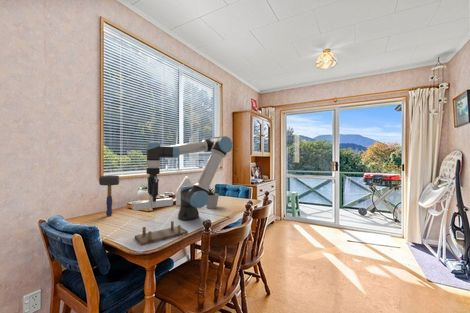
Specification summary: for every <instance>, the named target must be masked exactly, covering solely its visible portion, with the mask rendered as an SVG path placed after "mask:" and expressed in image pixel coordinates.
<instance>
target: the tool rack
mask: <svg viewBox="0 0 470 313" xmlns="http://www.w3.org/2000/svg"><path fill="white" fill-rule="evenodd" d="M187 233H188V234H189V231H188V230H187V229H186V228H183V227H182V226H181V225H180V224H178V225H177V226H175V224H174V220H173V221H170V227H169V228H164V229H159V230H155V231H150V230H149V231H148V232H147V231H146V226H142V233H141V234H137V235H134V239H135V240H136V241H137V242H138V243H139V244H140V246H144V245H149V244H152V243H157V242H160V240H161V241H164V240H168V239H172V237H173V238H177V237H181V236H184V235H183V234H185V235H188V234H187ZM180 235H181V236H180ZM176 236H177V237H176Z"/></svg>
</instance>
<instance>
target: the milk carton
mask: <svg viewBox="0 0 470 313" xmlns="http://www.w3.org/2000/svg"><path fill="white" fill-rule="evenodd" d="M185 186H194V184H193V183H192V180H191V179H190V177H189V176H187V175H185V176H184V178H183V179H182V181H181V183H180V184H179V186H177V188H176V190H175V191H176V192H175V206H177V207H178V206H181V192H180V191H181V187H185Z"/></svg>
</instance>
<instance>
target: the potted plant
mask: <svg viewBox="0 0 470 313" xmlns="http://www.w3.org/2000/svg"><path fill="white" fill-rule="evenodd" d="M208 189H209V193H208V197H209V200H208V203H207V204H206V205H205V208H207V209H210V210H211V209H213V210H214V209H216V208H217V207H218V201H219V196H220V194H219V193H218V192H217V191H218V190H217V189H215V187H211V185H210V186H209V188H208Z"/></svg>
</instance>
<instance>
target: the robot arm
mask: <svg viewBox="0 0 470 313" xmlns="http://www.w3.org/2000/svg"><path fill="white" fill-rule="evenodd" d="M233 144H234V143H233V141H232V139H231V138H230V137H228V136H225V135H221V136H214V137H211V138H207V139H203V140H202V141H196V142H195V141H194V142H186V143H180V144H172V145H161V142H159V141H149V142H147V144H146V162H145V164H146V174H147V175H149V176H148V177H147V194H148V195H149V196H148V200H151V207H155V208H157V207H156V199H158V198H157V196H159V181H160V180H159V178H158V175H160V171H161V169H160V167H161V159H163V158H165V159H176V158H177V159H178V158H179V157H180V156H182V155H189V154H197V153H201V152H203V153H211V154H210V155H209V158H208V160H207V161H206V163H205V165H204V168H203V170H202V172H201V175H200V177H199V179H198V181H197V182H196V183H195V184H193V185H194V186H185V187H181V191H180V192H181V205H179V206H180V207H179V210H178V212H177V219H178V220H180V221H193V220H194V221H195V220H197V219H199V218H200V216H199V215H200V213H199V210H198V209H200V208H203V207H206V204H207V203H208V200H209V197H208V193H209V189H210V187H211V184H212V182H213V179H214V177H215V174H216V173H217V171H218V169H219V166H220V165H221V162H222V160H223V158H226V156H227V153H229V152H231V151H232V149H233V147H234V145H233ZM209 186H210V187H209Z"/></svg>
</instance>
